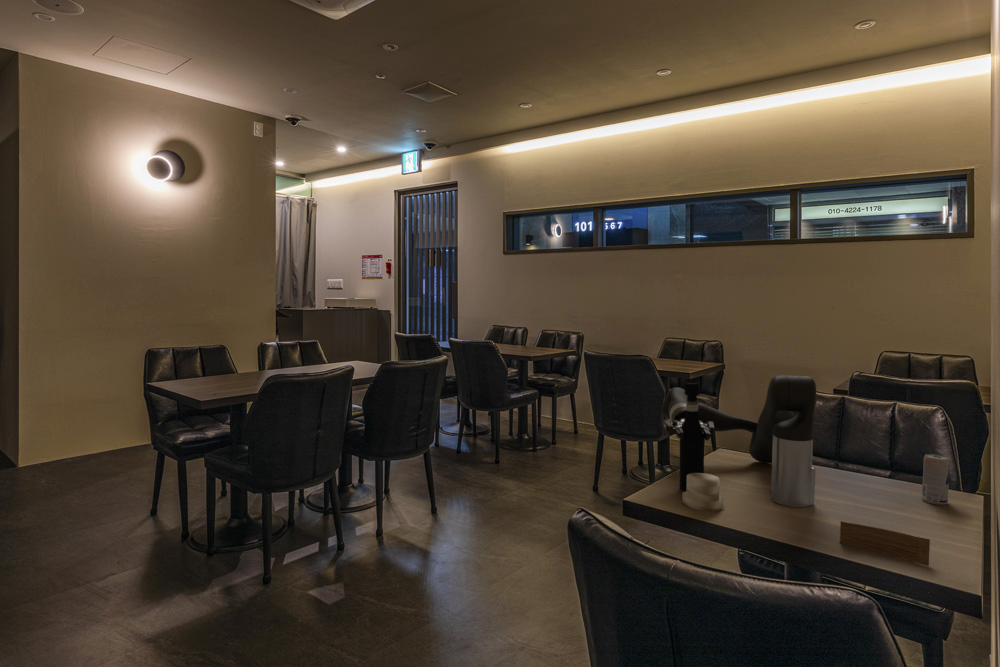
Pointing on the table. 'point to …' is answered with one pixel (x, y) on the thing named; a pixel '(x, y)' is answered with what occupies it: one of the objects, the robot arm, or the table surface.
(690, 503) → the plinth
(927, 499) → the energy drink
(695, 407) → the black bottle
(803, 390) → the robot arm
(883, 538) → the wood plank
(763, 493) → the table surface
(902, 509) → the table surface
